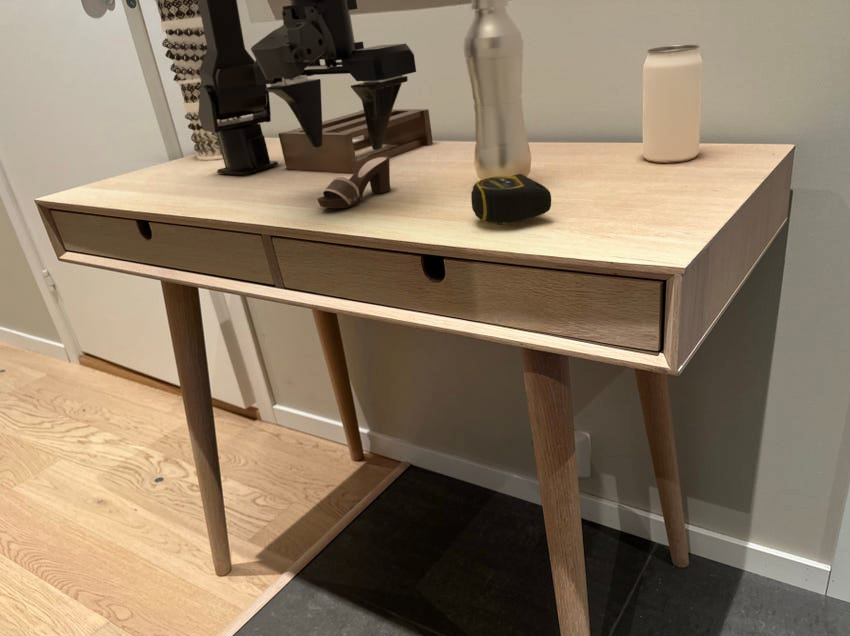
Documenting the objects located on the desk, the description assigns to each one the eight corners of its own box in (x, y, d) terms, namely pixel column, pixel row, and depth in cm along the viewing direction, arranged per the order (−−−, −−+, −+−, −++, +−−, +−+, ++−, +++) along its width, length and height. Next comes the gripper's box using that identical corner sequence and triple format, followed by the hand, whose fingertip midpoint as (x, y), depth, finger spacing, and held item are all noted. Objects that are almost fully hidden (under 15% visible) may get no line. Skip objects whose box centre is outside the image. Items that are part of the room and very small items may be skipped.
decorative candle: (262, 149, 118) (221, -20, 106) (212, 162, 112) (163, -15, 100) (233, 146, 123) (192, -15, 112) (185, 158, 118) (135, -10, 106)
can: (710, 154, 83) (716, 43, 77) (672, 166, 80) (675, 52, 74) (668, 148, 88) (671, 44, 82) (631, 159, 85) (630, 51, 79)
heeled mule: (306, 211, 79) (299, 177, 77) (377, 186, 86) (372, 154, 84) (332, 215, 76) (325, 180, 74) (403, 189, 83) (398, 156, 82)
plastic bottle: (468, 192, 79) (446, -8, 70) (488, 176, 85) (470, -11, 75) (522, 191, 77) (507, -15, 68) (540, 175, 82) (528, -17, 73)
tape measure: (555, 222, 66) (553, 182, 64) (486, 235, 65) (482, 195, 63) (529, 205, 72) (526, 168, 70) (465, 217, 70) (461, 180, 69)
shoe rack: (286, 169, 101) (278, 133, 99) (369, 141, 114) (364, 109, 111) (352, 173, 94) (345, 134, 92) (433, 143, 107) (428, 109, 105)
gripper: (194, 5, 70) (235, 162, 78) (326, -13, 60) (359, 169, 68) (278, -3, 78) (308, 140, 86) (407, -20, 68) (429, 144, 76)
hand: (346, 148), depth 78 cm, fingers open, 9 cm apart
